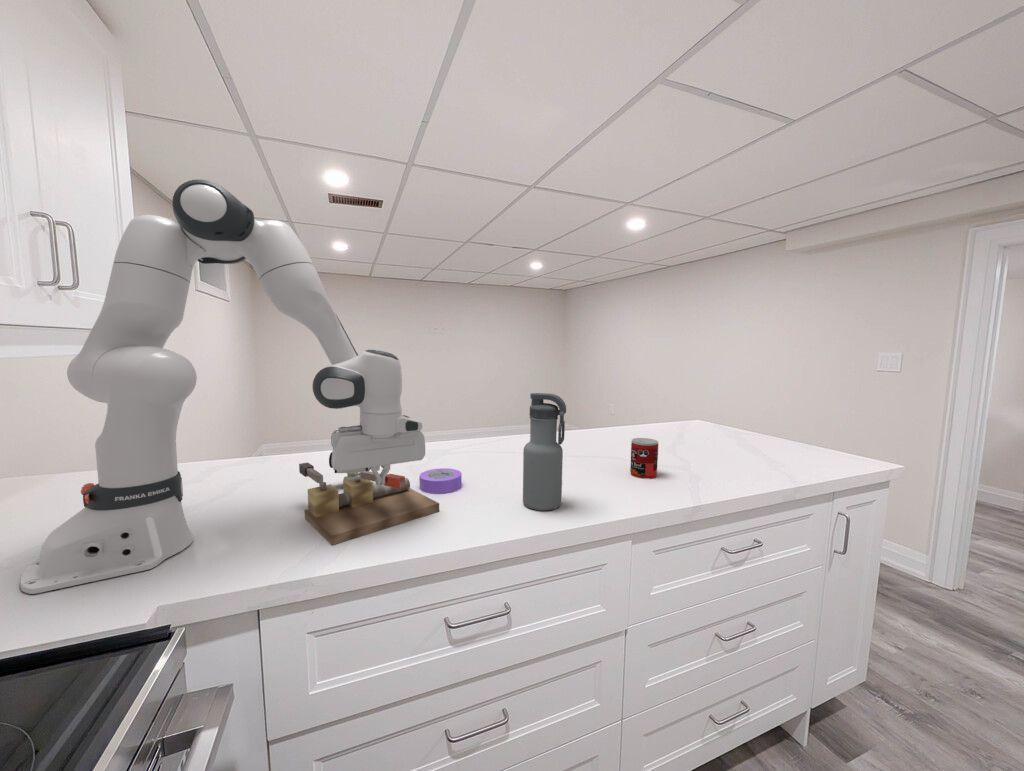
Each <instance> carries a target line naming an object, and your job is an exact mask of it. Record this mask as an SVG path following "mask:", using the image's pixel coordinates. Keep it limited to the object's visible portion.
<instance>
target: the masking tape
mask: <svg viewBox="0 0 1024 771" xmlns="http://www.w3.org/2000/svg"><path fill="white" fill-rule="evenodd" d="M418 479H419V490H420V491H421V492H423V493H427V494H432V495H443V494H450V493H453V492H456V491H459V490H460V489H461V488H462V487H463V486H462V482H463V480H462V472H461V471H460V470H459V469H455V468H446V467H445V468H442V467H441V468H433V469H428V470H424V471H423V472H421V473H420V474H419V478H418Z"/></svg>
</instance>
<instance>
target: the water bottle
mask: <svg viewBox="0 0 1024 771" xmlns="http://www.w3.org/2000/svg"><path fill="white" fill-rule="evenodd" d="M530 399H531V401H530V402H531V403H530V404H531V405H529V419H530V420H529V421H530V426H529V427H530V429H529V430H530V432H529V435H530V436H529V441H528V442H527V443H526V444H525V445H524V446H523V456H522V457H523V459H522V460H523V462H522V467H523V468H522V469H523V470H522V479H523V480H522V503H523V504H524V506H526V507H527V508H528V509H531V510H535V511H552V510H553V511H554V510H555V509H557V508H559V507H560V506H561V504H562V496H563V495H562V492H563V490H562V489H563V459H564V458H563V455H564V453H563V448H562V444H563V442H564V440H565V433H566V432H565V431H566V430H565V428H566V426H565V425H566V424H565V423H566V422H565V414H566V413H567V404H566V403H565V401H564V399H563V398H562V397H560V396H559V395H557V394H554V393H546V392H545V393H544V392H543V393H542V392H532V393H530ZM544 400H545V401H550V402H553V403H555V404H553V403H547V402H544ZM558 418H559V424H558V425H557V423H558ZM557 426H558V427H557ZM557 428H558V429H557ZM557 430H558V432H557ZM557 435H558V436H557Z"/></svg>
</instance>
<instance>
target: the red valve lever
mask: <svg viewBox="0 0 1024 771" xmlns="http://www.w3.org/2000/svg"><path fill="white" fill-rule="evenodd" d="M379 475H380V473H379ZM405 478H406V477H405V475H399V474H393V473H388V474H387V476H386V477H385V484H384V486H389V487H394V488H401V487H404V486H405ZM361 479H365V480H370V481H372V482H375V483H376V476H375V475H374V474H373V472H372V471H362V472H360V475H355V481H356V482H358V481H361Z"/></svg>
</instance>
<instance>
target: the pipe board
mask: <svg viewBox="0 0 1024 771" xmlns="http://www.w3.org/2000/svg"><path fill="white" fill-rule="evenodd" d="M298 464H299V466H298V467H299V474H300V475H302V476H303V477H305V478H307V477H309V478H310V479H311V480H312V481H314V482H315V483H317V484H318V486H317V487H312V488H308V489H307V505H308V506H307V507H308V508H306V509H304V519H305V520H306V521H307V522H308V523H309V524H310V525H311V526H312V527H313V528H314V529H315V530H316V531H317V532H318V533H319V534H320V535H321V536H323V538H324V539H326V541H327V542H328V543H329V544H330V545H331V546H334V545H337V544H340V543H343V542H346V541H347V542H348V541H350V540H353V539H356V538H359V537H363V536H366V535H369V534H372V533H375V532H379V531H382V530H385V529H389V528H391V527H394V526H397V525H400V524H404V523H407V522H410V521H414V520H416V519H419V518H423V517H425V516H429V515H432V514H436V513H438V512H440V502H438V501H435V500H433V499H432V498H430V497H428V496H426V495H424V494H422V493H420V492H418V491H417V490H415V489H413V488H411V484H410V483H411V482H410V479H409V478H407V477H405V486H404V487H401V488H394V487H389V486H384V484H382V485H377V484H375V485H374V484H373V483H374V481H370V480H365V479H361V481H358V482H356V481H355V479H352V480H348V481H343V480H342V484H343V485H342V486H343V492H341V493H339V489H338V488H337V487H335V486H334V485H332V484H331V483H330V484H327V482H326V481H324V475H323V474H322V473H320V472H319V471H317V470H315V468H314V465H312V464H311V463H309V462H301V463H298Z"/></svg>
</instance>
